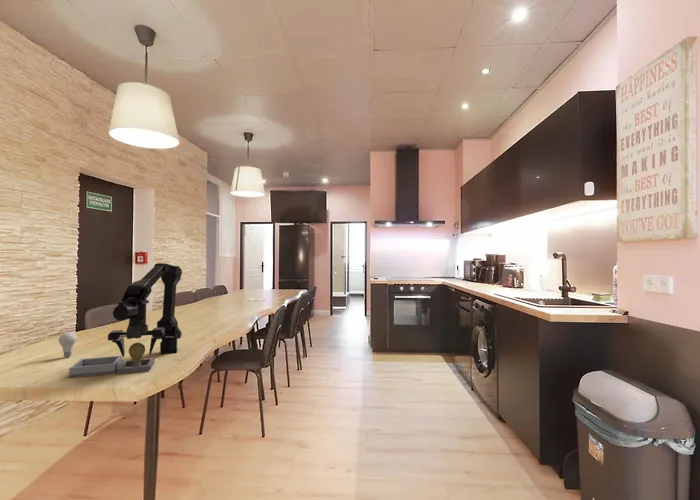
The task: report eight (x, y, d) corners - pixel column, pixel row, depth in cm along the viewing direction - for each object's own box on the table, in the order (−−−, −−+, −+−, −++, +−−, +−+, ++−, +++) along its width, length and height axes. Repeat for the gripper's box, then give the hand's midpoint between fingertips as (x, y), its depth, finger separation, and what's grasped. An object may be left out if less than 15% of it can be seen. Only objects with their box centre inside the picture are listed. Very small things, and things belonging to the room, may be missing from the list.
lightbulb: (77, 357, 152) (78, 332, 153) (59, 360, 148) (60, 334, 148) (74, 354, 157) (75, 329, 157) (57, 357, 152) (57, 332, 152)
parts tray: (122, 364, 144) (122, 355, 144) (114, 373, 132) (114, 364, 132) (80, 367, 138) (80, 359, 138) (69, 377, 127) (69, 368, 127)
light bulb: (137, 371, 135) (137, 345, 135) (124, 369, 136) (125, 344, 137) (148, 366, 141) (148, 341, 141) (136, 365, 142) (136, 340, 142)
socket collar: (154, 362, 146) (154, 357, 146) (150, 370, 135) (150, 365, 136) (123, 365, 142) (123, 360, 142) (116, 374, 131) (117, 368, 131)
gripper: (104, 321, 128) (103, 364, 128) (161, 318, 135) (161, 358, 135) (111, 316, 138) (111, 355, 138) (165, 313, 145) (164, 351, 145)
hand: (137, 355), depth 139 cm, fingers open, 9 cm apart
